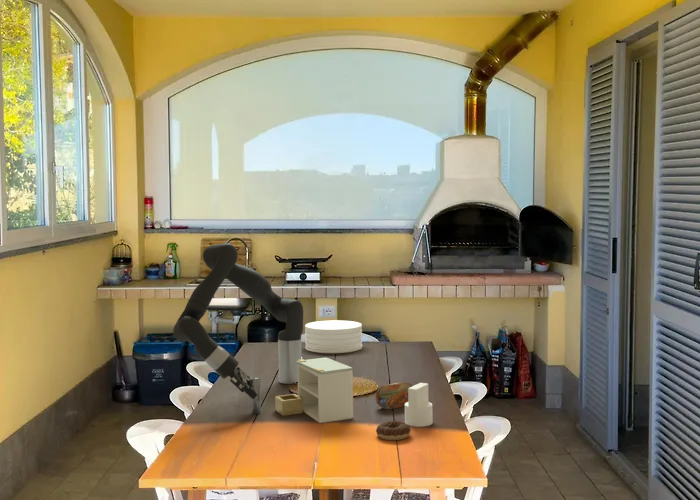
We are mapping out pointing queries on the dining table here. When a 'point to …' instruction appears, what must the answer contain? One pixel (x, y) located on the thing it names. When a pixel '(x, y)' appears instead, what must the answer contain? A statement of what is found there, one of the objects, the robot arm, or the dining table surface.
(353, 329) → the plate stack
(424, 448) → the dining table surface
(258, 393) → the hinge pin
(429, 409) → the cylinder with rectangular tab
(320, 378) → the cabinet
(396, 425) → the donut
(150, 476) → the dining table surface
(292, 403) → the tan open box
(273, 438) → the dining table surface
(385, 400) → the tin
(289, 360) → the robot arm
